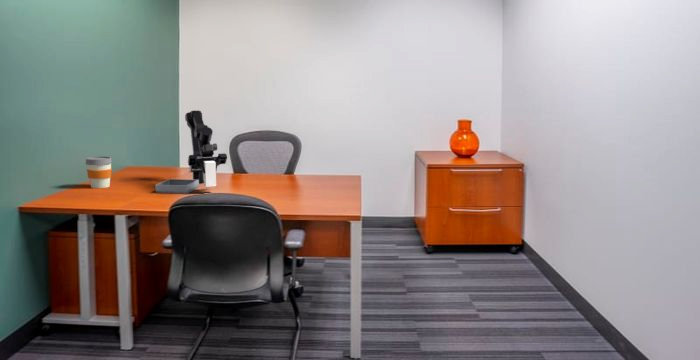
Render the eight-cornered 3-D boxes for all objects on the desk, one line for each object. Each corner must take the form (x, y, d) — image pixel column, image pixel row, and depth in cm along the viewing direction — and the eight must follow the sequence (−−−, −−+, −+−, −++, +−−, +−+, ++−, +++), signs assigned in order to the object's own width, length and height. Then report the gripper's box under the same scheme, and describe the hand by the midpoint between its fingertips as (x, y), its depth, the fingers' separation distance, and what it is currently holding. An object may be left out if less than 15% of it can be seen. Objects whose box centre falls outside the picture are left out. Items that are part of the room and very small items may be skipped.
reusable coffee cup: (112, 188, 314) (110, 159, 312) (86, 189, 311) (84, 160, 308) (113, 184, 326) (112, 156, 324) (88, 185, 322) (86, 156, 320)
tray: (169, 186, 321) (168, 178, 320) (199, 187, 319) (198, 179, 319) (155, 192, 303) (155, 184, 302) (187, 193, 302) (186, 185, 301)
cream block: (204, 185, 306) (203, 161, 303) (214, 184, 308) (213, 160, 305) (206, 186, 301) (205, 162, 299) (216, 186, 303) (215, 162, 301)
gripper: (188, 138, 300) (192, 164, 292) (225, 137, 308) (231, 162, 300) (185, 152, 308) (190, 177, 301) (222, 151, 316) (228, 175, 308)
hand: (210, 173), depth 302 cm, fingers closed on cream block, 5 cm apart
